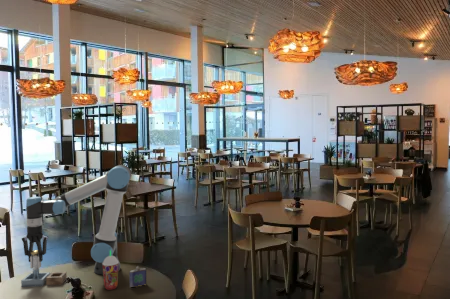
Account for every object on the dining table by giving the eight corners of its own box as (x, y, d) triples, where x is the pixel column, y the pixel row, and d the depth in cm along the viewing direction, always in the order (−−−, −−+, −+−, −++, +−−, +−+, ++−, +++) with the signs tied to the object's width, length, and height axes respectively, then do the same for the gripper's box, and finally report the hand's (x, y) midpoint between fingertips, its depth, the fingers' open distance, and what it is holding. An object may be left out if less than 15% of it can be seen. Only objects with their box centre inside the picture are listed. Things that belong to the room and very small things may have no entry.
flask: (130, 288, 203) (130, 268, 203) (128, 287, 206) (128, 267, 205) (147, 285, 208) (146, 265, 207) (145, 283, 210) (145, 264, 210)
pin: (42, 276, 215) (41, 249, 214) (38, 279, 210) (38, 252, 209) (33, 276, 214) (32, 250, 214) (29, 279, 210) (29, 252, 209)
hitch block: (66, 278, 217) (66, 271, 217) (61, 284, 210) (61, 277, 209) (52, 279, 217) (51, 272, 217) (46, 284, 209) (46, 277, 209)
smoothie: (114, 291, 200) (113, 253, 199) (99, 290, 201) (99, 252, 200) (121, 285, 208) (121, 248, 207) (107, 284, 210) (107, 247, 209)
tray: (50, 278, 218) (50, 272, 218) (42, 286, 207) (42, 279, 207) (30, 279, 217) (30, 273, 217) (21, 286, 207) (21, 280, 206)
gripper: (16, 227, 207) (17, 270, 208) (47, 226, 208) (48, 269, 209) (22, 224, 214) (23, 265, 215) (52, 223, 215) (53, 264, 216)
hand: (35, 267), depth 212 cm, fingers closed on pin, 3 cm apart
